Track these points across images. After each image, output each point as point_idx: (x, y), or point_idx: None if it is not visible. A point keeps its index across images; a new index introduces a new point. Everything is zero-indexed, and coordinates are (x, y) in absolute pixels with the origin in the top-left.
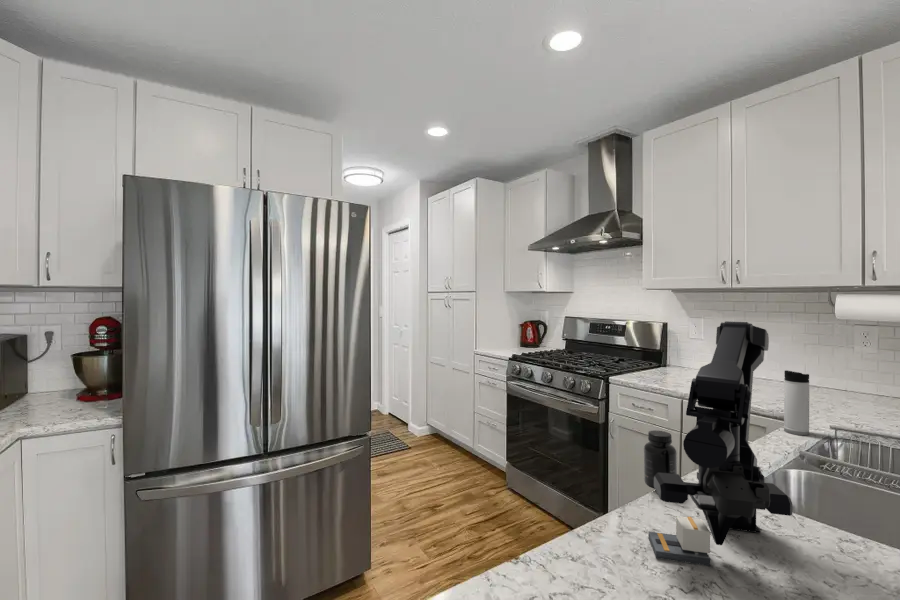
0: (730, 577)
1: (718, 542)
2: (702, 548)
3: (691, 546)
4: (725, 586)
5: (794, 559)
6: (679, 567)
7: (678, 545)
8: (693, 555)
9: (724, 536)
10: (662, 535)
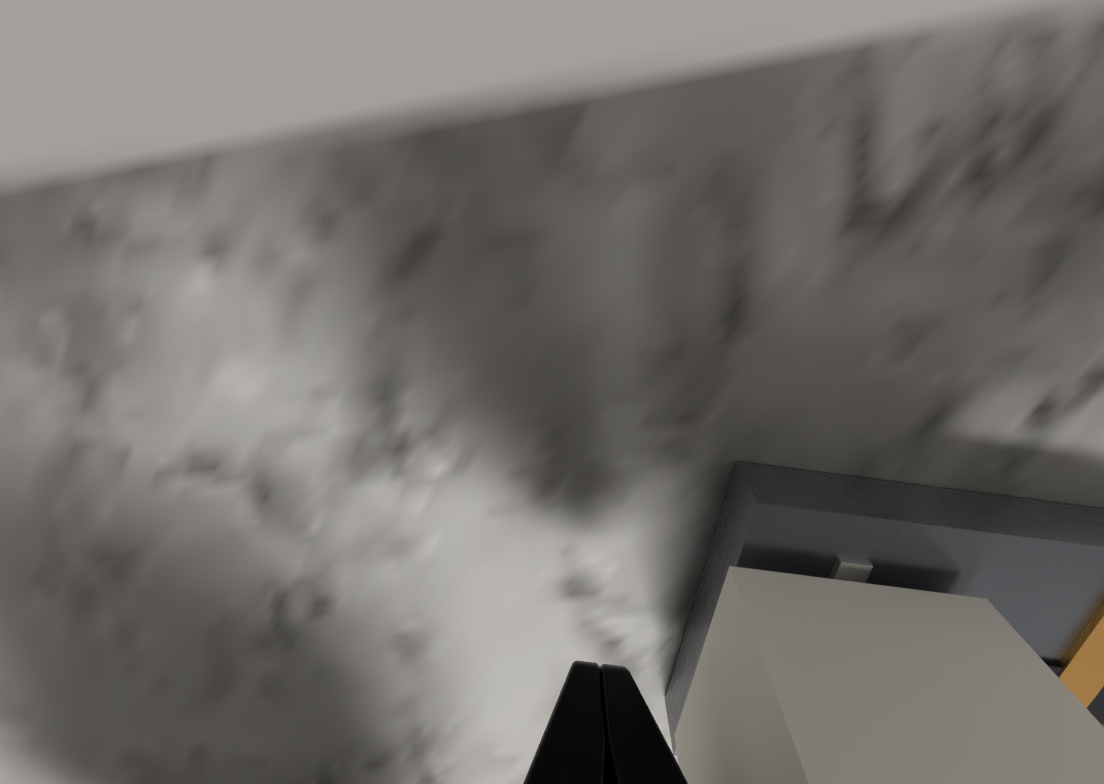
0: (639, 321)
1: (616, 685)
2: (815, 606)
3: (930, 624)
4: (784, 160)
5: (8, 602)
6: (1060, 414)
7: None
8: (909, 533)
9: (558, 757)
10: None
